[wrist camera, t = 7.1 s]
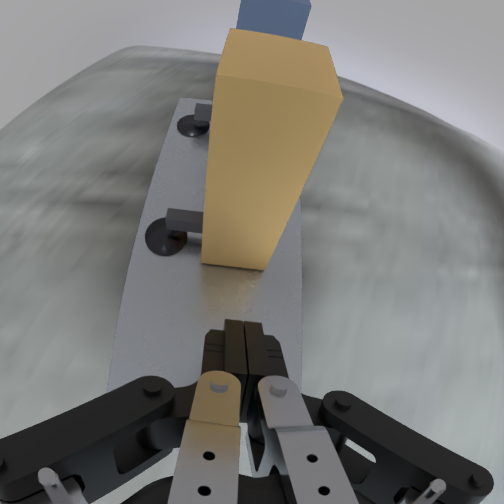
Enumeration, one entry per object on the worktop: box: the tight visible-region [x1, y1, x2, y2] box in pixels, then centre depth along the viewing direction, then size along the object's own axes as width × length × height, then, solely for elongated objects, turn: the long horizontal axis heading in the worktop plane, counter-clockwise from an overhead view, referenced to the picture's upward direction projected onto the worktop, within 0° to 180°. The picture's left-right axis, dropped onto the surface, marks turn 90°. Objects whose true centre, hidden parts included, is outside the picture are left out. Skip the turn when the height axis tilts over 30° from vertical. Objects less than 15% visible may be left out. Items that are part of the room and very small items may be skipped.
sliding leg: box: [165, 28, 343, 270], centre depth 15 cm, size 4×6×13 cm, turn 87°
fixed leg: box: [194, 0, 311, 122], centre depth 21 cm, size 4×6×13 cm, turn 87°
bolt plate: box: [107, 98, 302, 423], centre depth 22 cm, size 26×11×1 cm, turn 177°
